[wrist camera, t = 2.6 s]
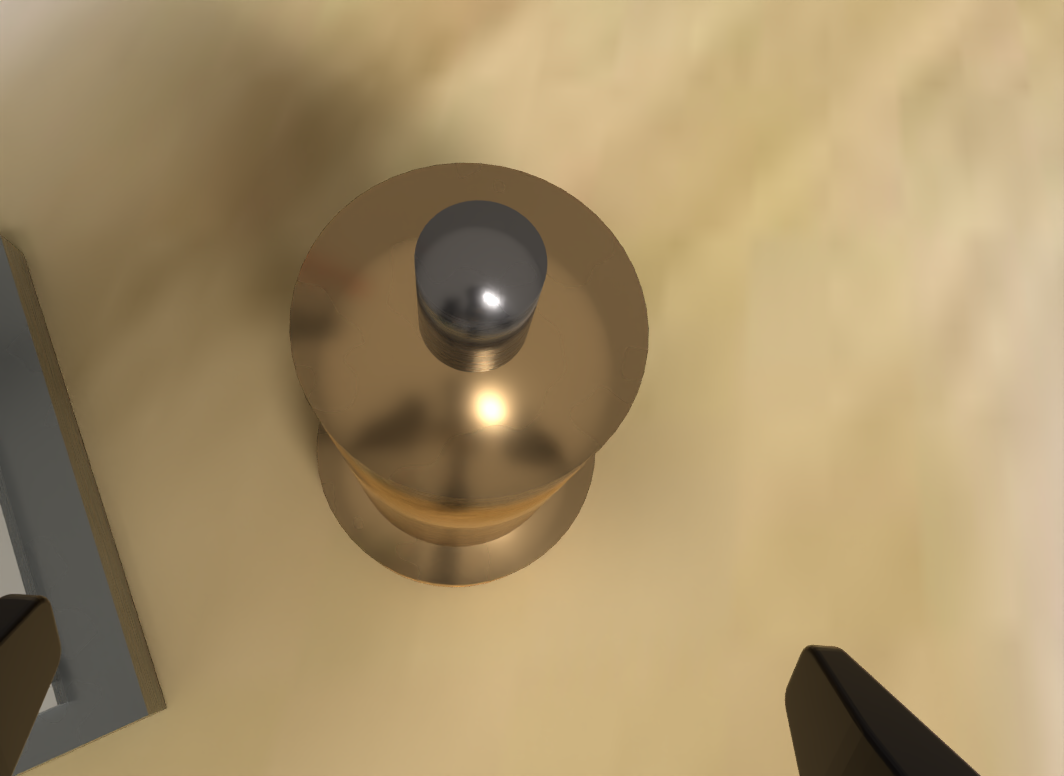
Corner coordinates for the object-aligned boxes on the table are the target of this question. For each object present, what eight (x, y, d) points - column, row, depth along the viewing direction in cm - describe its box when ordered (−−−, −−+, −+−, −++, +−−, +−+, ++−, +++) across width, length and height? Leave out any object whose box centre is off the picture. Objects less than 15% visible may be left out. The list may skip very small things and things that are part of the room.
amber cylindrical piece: (624, 419, 22) (847, 193, 10) (499, 638, 20) (590, 685, 8) (420, 295, 22) (398, -67, 10) (275, 498, 20) (36, 339, 8)
